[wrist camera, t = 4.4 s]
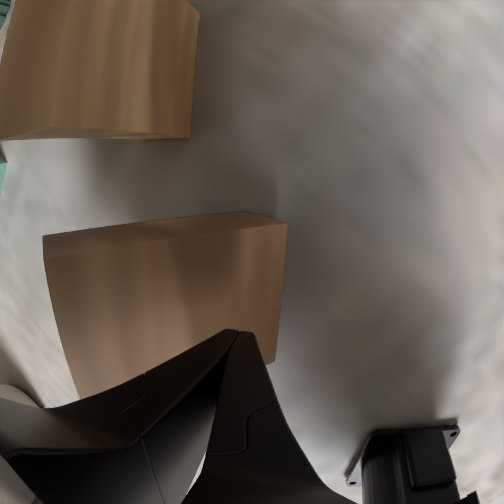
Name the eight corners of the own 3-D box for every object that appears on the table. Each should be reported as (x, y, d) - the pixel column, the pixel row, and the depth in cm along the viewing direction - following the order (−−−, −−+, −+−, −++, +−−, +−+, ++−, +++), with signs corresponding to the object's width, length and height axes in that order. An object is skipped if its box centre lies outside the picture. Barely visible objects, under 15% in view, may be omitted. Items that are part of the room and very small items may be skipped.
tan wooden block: (200, 14, 11) (100, -83, 3) (190, 137, 12) (51, 126, 5) (146, 23, 11) (30, -44, 3) (135, 139, 13) (-12, 142, 5)
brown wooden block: (288, 222, 11) (43, 258, 6) (274, 361, 13) (91, 428, 8) (242, 210, 13) (42, 234, 8) (237, 333, 15) (75, 381, 10)
